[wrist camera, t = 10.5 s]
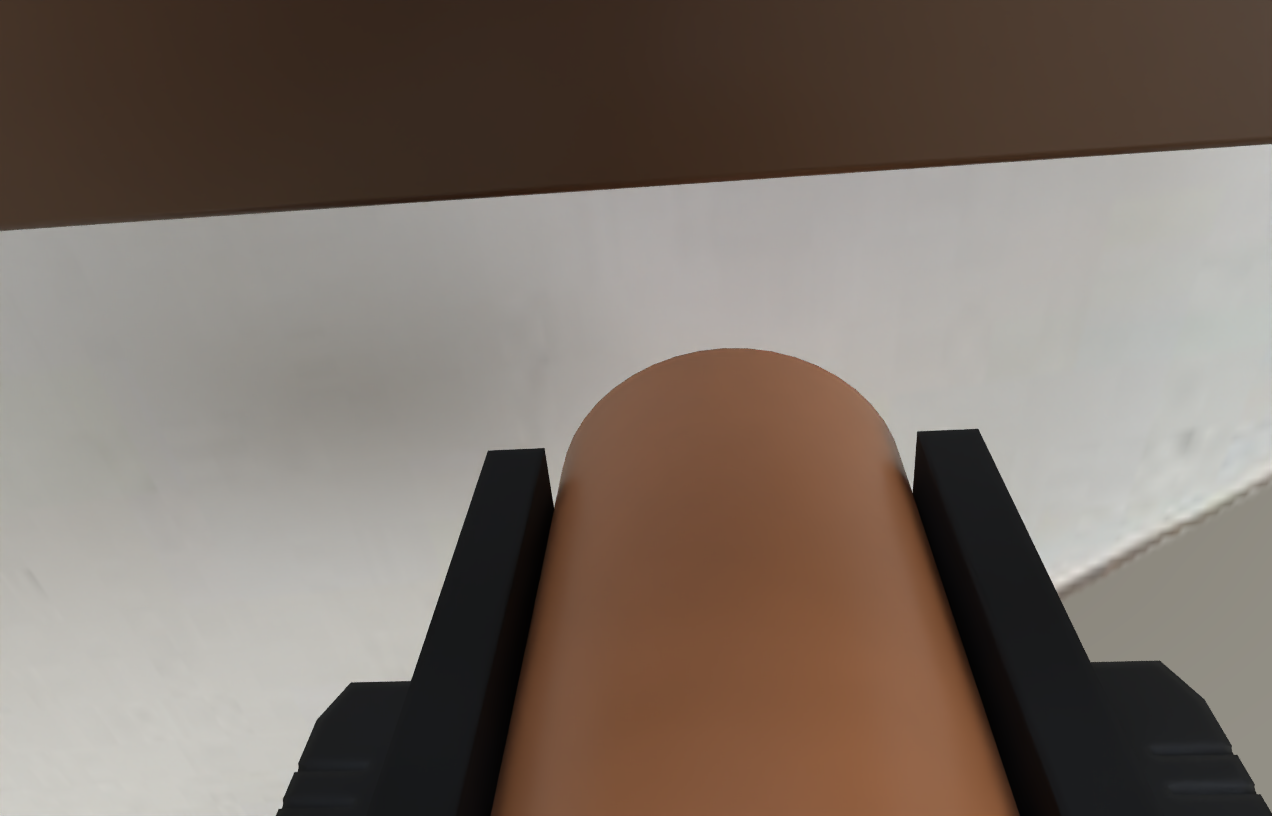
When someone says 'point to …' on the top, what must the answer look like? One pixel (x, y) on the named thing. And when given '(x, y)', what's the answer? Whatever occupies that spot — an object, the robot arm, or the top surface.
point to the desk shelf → (586, 95)
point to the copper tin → (743, 614)
